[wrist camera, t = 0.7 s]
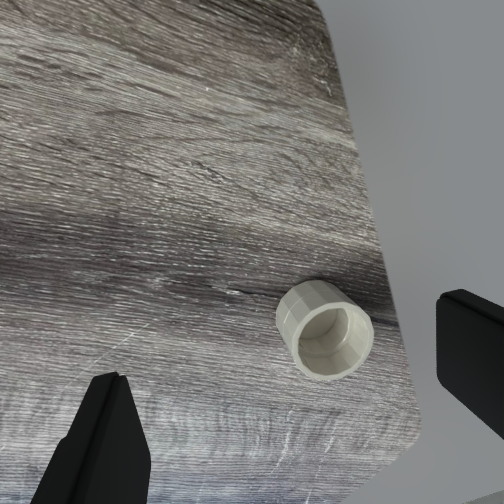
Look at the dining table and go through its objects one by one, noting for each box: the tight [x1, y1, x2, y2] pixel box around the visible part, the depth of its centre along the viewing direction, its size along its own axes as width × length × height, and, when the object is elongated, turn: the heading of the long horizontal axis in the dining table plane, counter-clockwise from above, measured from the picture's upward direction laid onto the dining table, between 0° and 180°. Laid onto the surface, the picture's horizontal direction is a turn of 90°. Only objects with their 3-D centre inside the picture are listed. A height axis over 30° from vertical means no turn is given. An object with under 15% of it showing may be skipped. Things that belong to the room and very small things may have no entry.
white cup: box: [276, 280, 374, 381], centre depth 28 cm, size 7×7×6 cm
